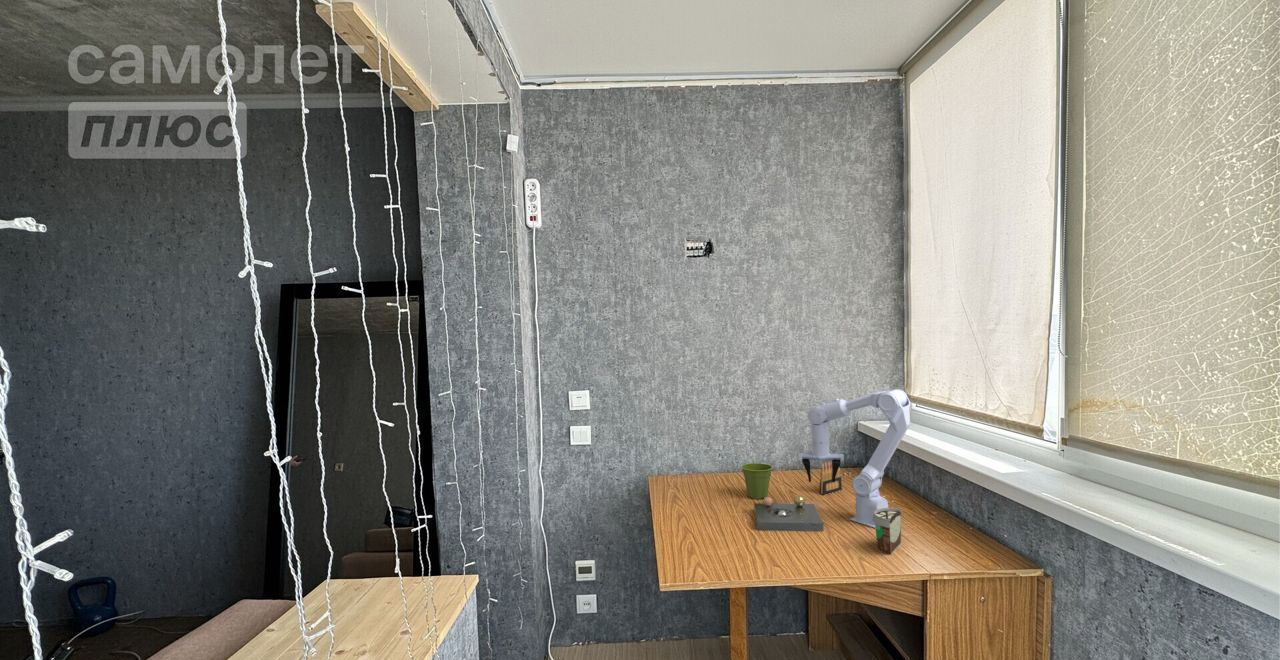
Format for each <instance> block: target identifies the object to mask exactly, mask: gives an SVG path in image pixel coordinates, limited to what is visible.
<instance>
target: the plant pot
mask: <svg viewBox="0 0 1280 660" xmlns="http://www.w3.org/2000/svg"><path fill="white" fill-rule="evenodd" d="M740 468H741V469H742V474H743V477H744V482H745V486H746V492H747V493H746V494H747V497H749V498H750V499H752V500H754V499H756V500H761V499H764V498H765V497H768V495H769V487H770V482H771V481H770V480H771V475H772V470H773V469H774V466H773V465H772V464H768V463H761V462H750V463H749V462H748V463H744V464H741V466H740Z"/></svg>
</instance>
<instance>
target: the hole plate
mask: <svg viewBox="0 0 1280 660" xmlns="http://www.w3.org/2000/svg"><path fill="white" fill-rule="evenodd" d="M753 506H754V507H753V509H754V510H753V511H754V516H755V521H756V527H757V531H764V532H765V531H769V532H771V531H772V532H773V531H779V532H780V531H781V532H783V531H784V532H824V531H825V529H824V528H825V527H824V522H823V520H822V517H821V516H820V514H819V511H818V510H817V508H816V506H815V504H814V503H804V505H803V506H797V505H796V504H795V503H772V504H771V505H770V506H766V505H765V504H764V502H763V503H762V502H761V503H758V502H757V503H753ZM781 510H783V511H785V512H786V513H787V514H786V515H778V512H779V511H781Z"/></svg>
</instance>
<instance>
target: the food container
mask: <svg viewBox="0 0 1280 660" xmlns="http://www.w3.org/2000/svg"><path fill="white" fill-rule="evenodd" d="M902 515H903V512H902V508H898V507H897V508H896V507H895V508H894V507H888V508H881V509H878V510H876V511H875V512H874V514H873V518H872V520H873V522H874V523H875V527H876V528H875V537H876V545H877V549H878V550H879V551H880V552H881V553H885V554H888V555H890V556H891V555H893V554H894V552H895V551H897V549H898V548H900V546H901V545H902Z"/></svg>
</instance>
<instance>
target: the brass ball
mask: <svg viewBox="0 0 1280 660" xmlns="http://www.w3.org/2000/svg"><path fill="white" fill-rule="evenodd" d="M793 502H794V503H793V504H796V505H797V506H803V505H804V504H806V500H805V497H804V496H802V495H799V494H798V495H795V497H794V498H793Z"/></svg>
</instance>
